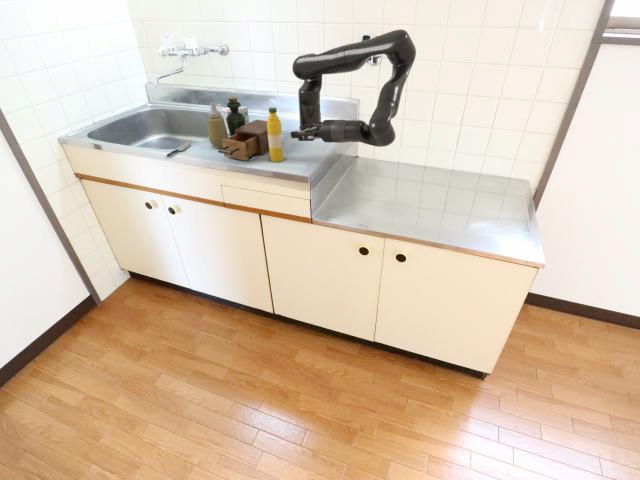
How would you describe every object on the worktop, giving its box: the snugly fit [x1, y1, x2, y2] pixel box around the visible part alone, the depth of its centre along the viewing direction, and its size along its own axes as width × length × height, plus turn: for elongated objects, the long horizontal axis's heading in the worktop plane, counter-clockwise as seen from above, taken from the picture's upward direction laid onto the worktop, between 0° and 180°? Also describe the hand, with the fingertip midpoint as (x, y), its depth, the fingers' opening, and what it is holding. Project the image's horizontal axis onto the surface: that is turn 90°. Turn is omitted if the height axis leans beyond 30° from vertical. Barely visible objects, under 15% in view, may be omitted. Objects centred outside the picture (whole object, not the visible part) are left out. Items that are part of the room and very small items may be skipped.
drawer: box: [217, 133, 259, 162], centre depth 147 cm, size 19×11×7 cm, turn 151°
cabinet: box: [235, 119, 270, 156], centre depth 156 cm, size 15×12×9 cm
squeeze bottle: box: [206, 102, 229, 149], centre depth 154 cm, size 8×8×18 cm
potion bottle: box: [226, 96, 245, 137], centre depth 161 cm, size 8×8×18 cm
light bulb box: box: [220, 104, 250, 135], centre depth 172 cm, size 11×7×11 cm, turn 130°
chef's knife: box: [166, 140, 192, 157], centre depth 157 cm, size 19×1×3 cm
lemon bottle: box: [266, 107, 284, 163], centre depth 141 cm, size 5×5×20 cm
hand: (297, 131), depth 135 cm, fingers open, 8 cm apart
